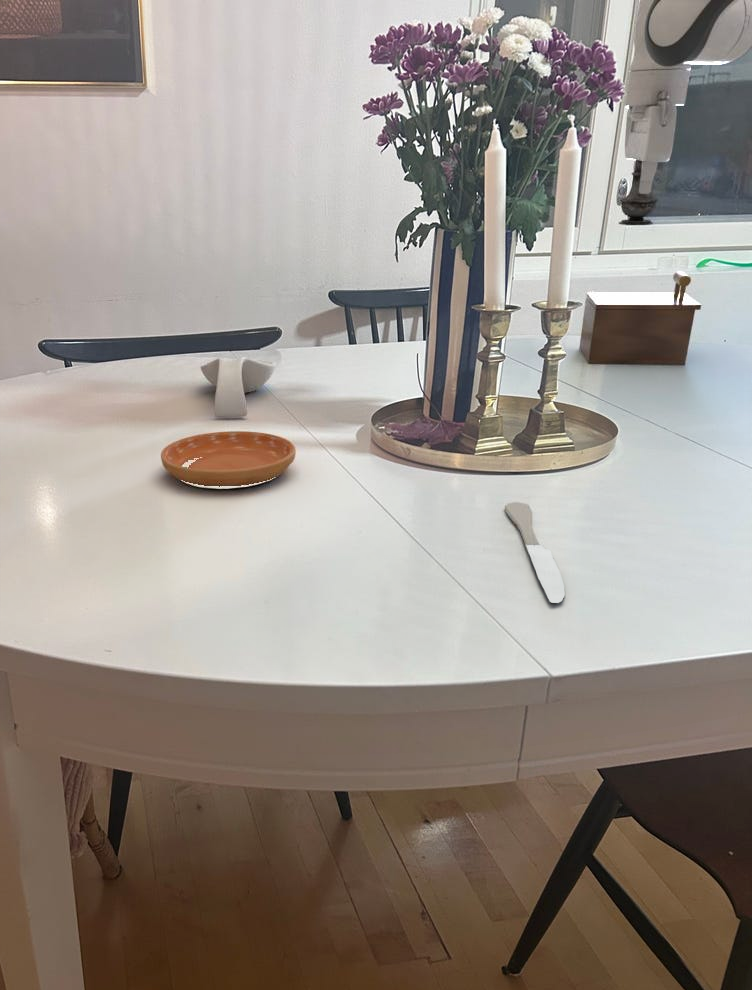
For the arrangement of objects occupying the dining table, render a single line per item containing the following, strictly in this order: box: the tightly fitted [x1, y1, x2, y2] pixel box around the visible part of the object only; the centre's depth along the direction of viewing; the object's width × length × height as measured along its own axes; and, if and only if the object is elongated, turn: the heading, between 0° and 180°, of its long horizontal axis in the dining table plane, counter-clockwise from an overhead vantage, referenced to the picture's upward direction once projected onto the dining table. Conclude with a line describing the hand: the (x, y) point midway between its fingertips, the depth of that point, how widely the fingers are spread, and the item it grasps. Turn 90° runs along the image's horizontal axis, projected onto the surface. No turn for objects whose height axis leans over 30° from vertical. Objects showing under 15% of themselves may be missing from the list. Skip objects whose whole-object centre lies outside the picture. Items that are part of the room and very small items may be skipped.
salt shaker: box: [618, 160, 659, 226], centre depth 150 cm, size 6×6×12 cm
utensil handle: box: [504, 501, 540, 546], centre depth 89 cm, size 1×24×3 cm
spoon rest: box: [199, 356, 276, 418], centre depth 141 cm, size 24×12×7 cm, turn 179°
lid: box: [585, 270, 702, 311], centre depth 157 cm, size 16×13×5 cm
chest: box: [578, 296, 696, 366], centre depth 161 cm, size 16×13×9 cm
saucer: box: [160, 430, 297, 487], centre depth 111 cm, size 16×16×3 cm
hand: (640, 192), depth 150 cm, fingers closed on salt shaker, 3 cm apart
